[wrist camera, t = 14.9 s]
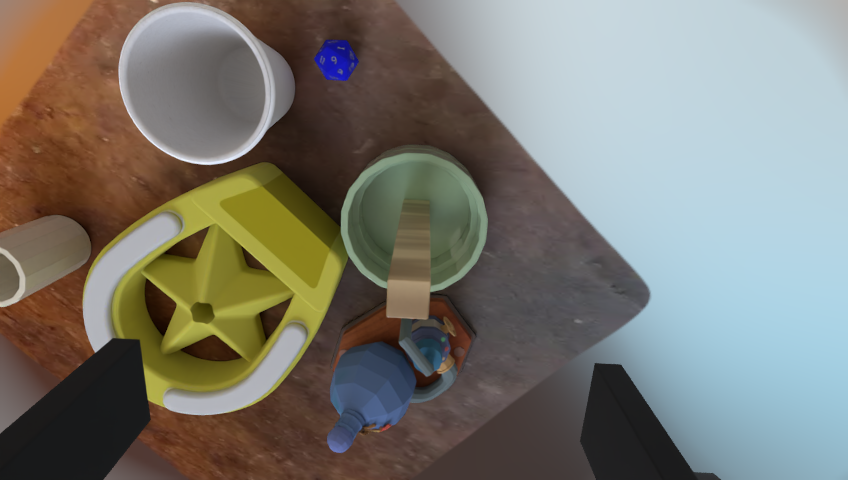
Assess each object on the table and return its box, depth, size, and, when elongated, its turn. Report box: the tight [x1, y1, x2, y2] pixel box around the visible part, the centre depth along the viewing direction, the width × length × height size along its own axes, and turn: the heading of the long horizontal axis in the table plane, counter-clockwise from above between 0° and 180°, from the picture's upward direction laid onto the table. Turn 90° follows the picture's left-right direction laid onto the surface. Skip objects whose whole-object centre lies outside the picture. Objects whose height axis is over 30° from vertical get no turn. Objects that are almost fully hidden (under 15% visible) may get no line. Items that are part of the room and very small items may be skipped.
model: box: [327, 294, 476, 453], centre depth 39 cm, size 12×9×9 cm
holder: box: [0, 215, 91, 307], centre depth 37 cm, size 5×5×7 cm
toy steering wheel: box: [83, 162, 349, 415], centre depth 39 cm, size 16×21×5 cm
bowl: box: [341, 144, 488, 292], centre depth 37 cm, size 10×10×5 cm
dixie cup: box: [119, 2, 295, 165], centre depth 32 cm, size 8×8×10 cm
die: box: [314, 40, 359, 81], centre depth 35 cm, size 3×3×3 cm
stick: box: [386, 199, 431, 320], centre depth 31 cm, size 2×2×16 cm
